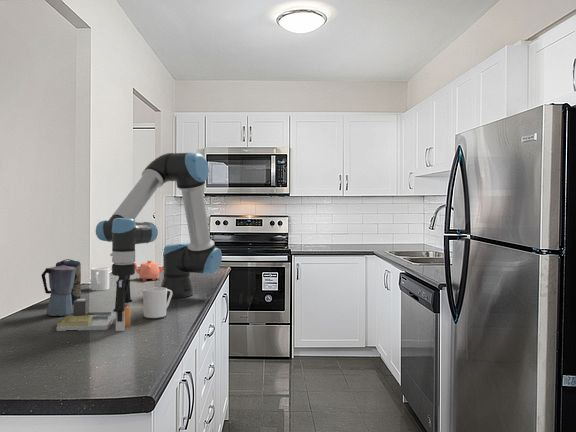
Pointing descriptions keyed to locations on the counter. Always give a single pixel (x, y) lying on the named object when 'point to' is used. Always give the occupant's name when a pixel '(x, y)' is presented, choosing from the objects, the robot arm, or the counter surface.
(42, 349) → the counter surface
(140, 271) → the teapot
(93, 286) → the mug
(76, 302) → the breaker slider
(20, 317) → the counter surface
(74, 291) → the canister
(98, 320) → the panel
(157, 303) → the mug
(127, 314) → the cap
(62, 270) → the moka pot
